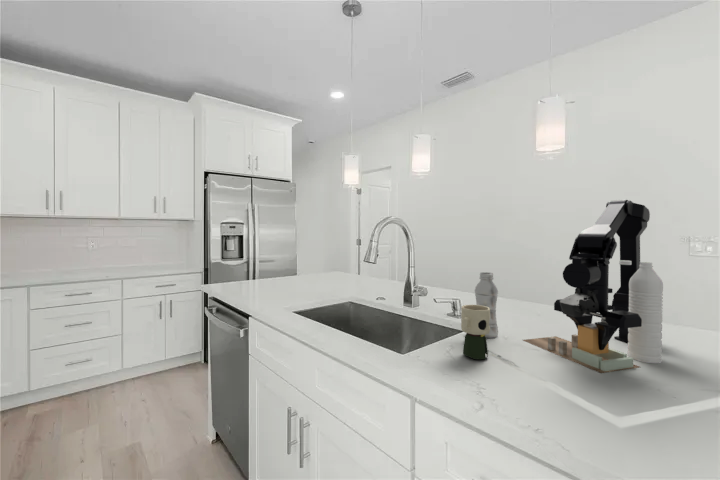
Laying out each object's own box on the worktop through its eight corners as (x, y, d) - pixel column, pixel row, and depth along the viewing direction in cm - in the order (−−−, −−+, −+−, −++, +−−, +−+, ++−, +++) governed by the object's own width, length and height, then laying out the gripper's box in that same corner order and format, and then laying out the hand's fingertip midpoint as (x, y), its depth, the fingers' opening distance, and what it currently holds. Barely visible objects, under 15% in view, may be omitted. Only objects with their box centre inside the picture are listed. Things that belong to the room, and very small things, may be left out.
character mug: (477, 366, 83) (477, 313, 83) (451, 358, 88) (451, 308, 88) (498, 355, 90) (498, 306, 90) (473, 348, 96) (473, 302, 95)
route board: (555, 340, 103) (555, 326, 102) (640, 372, 79) (641, 354, 79) (522, 344, 99) (522, 329, 99) (600, 378, 76) (601, 359, 76)
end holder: (598, 354, 88) (598, 344, 88) (633, 367, 79) (633, 356, 79) (571, 357, 85) (572, 347, 85) (604, 371, 77) (604, 360, 77)
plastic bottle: (500, 343, 100) (500, 274, 100) (475, 341, 102) (476, 274, 101) (496, 336, 107) (496, 272, 106) (473, 335, 108) (473, 271, 107)
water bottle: (665, 364, 84) (667, 262, 83) (655, 370, 81) (658, 263, 80) (623, 353, 91) (624, 259, 91) (612, 358, 88) (614, 261, 87)
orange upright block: (593, 347, 87) (593, 322, 87) (608, 352, 83) (608, 326, 83) (577, 349, 86) (577, 323, 85) (592, 354, 82) (592, 328, 82)
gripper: (537, 279, 91) (536, 338, 91) (605, 292, 73) (604, 364, 73) (571, 277, 94) (570, 334, 94) (644, 289, 76) (642, 359, 76)
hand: (593, 346), depth 84 cm, fingers closed on orange upright block, 4 cm apart
